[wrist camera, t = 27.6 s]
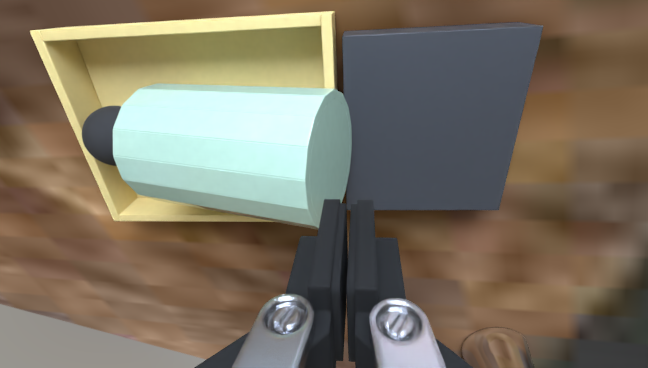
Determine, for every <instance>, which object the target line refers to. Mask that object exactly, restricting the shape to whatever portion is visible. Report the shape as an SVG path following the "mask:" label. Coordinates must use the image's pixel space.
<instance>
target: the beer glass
mask: <svg viewBox="0 0 648 368" xmlns="http://www.w3.org/2000/svg"><path fill="white" fill-rule="evenodd" d="M462 354H463V357H464V359H465V361H466V362H467V363H468V364H469V365H471V366H472V367H473V368H535V367H534V364H533V361H532V357H531V354H530V350H529V347H528V344H527V341H526V339H525V338H524V337H523V336H522V335H521V334H520V333H519V332H517V331H515V330H512V329H508V328H502V327H493V328H486V329H482V330H479V331H477V332H475V333H473V334H471V335H470V336H469V337H468V338H467V339H466V340H465V341H464V343H463V345H462Z"/></svg>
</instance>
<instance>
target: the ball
mask: <svg viewBox="0 0 648 368" xmlns="http://www.w3.org/2000/svg"><path fill="white" fill-rule="evenodd" d="M120 108H121V106H106V107H102V108H99V109H97V110H96V111H94V112H93V113H91V114H90V115H89V116H88V117H87V119H86V120H85V122H84V124H83V127H82V140H83V143H84V146H85V148H86V149H87V151H88V152H89V153H90V154H91V155H92V156H93V157H94V158H95V159H97V160H99V161H100V162H102V163H105V164H108V165H112V166H117V165H116V162H115V160H114V157H113V127H114V124H115V121H116V119H117V116H118V114H119V111H120Z"/></svg>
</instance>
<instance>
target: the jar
mask: <svg viewBox="0 0 648 368" xmlns="http://www.w3.org/2000/svg"><path fill="white" fill-rule="evenodd" d="M351 147H352V129H351V120H350V114H349V107H348V105H347V102H346V100H345V98H344V95H343V94H342V93H341V92H339V91H338V90H336V89H333V88H299V87H266V86H233V85H199V84H166V83H156V84H153V85H149V86H146V87H143V88H139V89H138V90H137V91H136V92H135V93H134V94H133V95H132V96H130V97H129V98H128V99H127V100H126V101H125V102H124V103H123V104H122V106H121V108H120V111H119V114H118V116H117V119H116V121H115V124H114V127H113V157H114V160H115V162H116V165H117V167H118V170H119V172H120V175H121V177H122V179H123V180H124V181H125V182H126V183H127V184H128V185H129V186H130V187H131V188H132V189H133V190H134V191H135V192H136V193H137V194H138V195H141V196H144V197H147V198H150V199H153V200H157V201H163V202H169V203H174V204H180V205H185V206H191V207H196V208H202V209H207V210H213V211H218V212H224V213H230V214H235V215H241V216H246V217H252V218H257V219H263V220H268V221H274V222H280V223H285V224H291V225H296V226H302V227H307V228H313V229H319V224H320V219H321V214H322V208H323V203H324V199H340V203H342V200H343V197H344V194H345V191H346V186H347V181H348V176H349V171H350V161H351V151H352V148H351Z"/></svg>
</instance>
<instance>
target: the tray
mask: <svg viewBox="0 0 648 368" xmlns="http://www.w3.org/2000/svg"><path fill="white" fill-rule="evenodd" d="M30 33H31V36H32V38H33V40H34V42H35V45H36V47H37V49H38V51H39V54H40V56H41V58H42V60H43V63H44V65H45V67H46V69H47V72H48V74H49V76H50V78H51V81H52V83H53V85H54V87H55V90H56V92H57V94H58V96H59V98H60V101H61V103H62V105H63V107H64V110H65V112H66V114H67V116H68V119H69V121H70V123H71V125H72V128H73V130H74V132H75V134H76V137H77V139H78V141H79V143H80V146H81V148H82V150H83V152H84V155H85V157H86V159H87V161H88V164H89V166H90V168H91V170H92V173H93V175H94V177H95V179H96V182H97V184H98V186H99V188H100V191H101V193H102V195H103V197H104V200H105V202H106V204H107V206H108V209H109V211H110V213H111V215H112V218H113V220H114V221H213V222H274V221H268V220H263V219H257V218H252V217H246V216H241V215H235V214H230V213H224V212H218V211H213V210H207V209H202V208H196V207H191V206H185V205H180V204H174V203H169V202H163V201H157V200H153V199H150V198H147V197H144V196H141V195H138V194H137V193H136V192H135V191H134V190H133V189H132V188H131V187H130V186H129V185H128V184H127V183H126V182H125V181H124V180H123V179H122V177H121V175H120V172H119V170H118V167H117V166H112V165H108V164H105V163H102V162H100V161H99V160H97V159H95V158H94V157H93V156H92V155H91V154H90V153H89V152H88V151H87V149H86V148H85V146H84V143H83V140H82V127H83V124H84V122H85V120H86V119H87V117H88V116H89V115H90V114H91V113H93V112H94V111H96V110H97V109H99V108H102V107H106V106H122V104H123V103H124V102H125V101H126V100H127V99H128V98H129V97H130V96H132V95H133V94H134V93H135V92H136V91H137V90H138V89H139V88H143V87H146V86H149V85H153V84H156V83H166V84H199V85H233V86H266V87H299V88H333V89H336V90H338V87H337V58H336V29H335V11H328V12H311V13H294V14H278V15H261V16H244V17H227V18H210V19H193V20H176V21H160V22H143V23H126V24H109V25H92V26H75V27H62V28H52V29H42V30H32V31H30Z"/></svg>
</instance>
